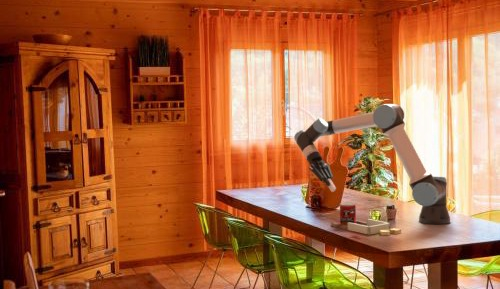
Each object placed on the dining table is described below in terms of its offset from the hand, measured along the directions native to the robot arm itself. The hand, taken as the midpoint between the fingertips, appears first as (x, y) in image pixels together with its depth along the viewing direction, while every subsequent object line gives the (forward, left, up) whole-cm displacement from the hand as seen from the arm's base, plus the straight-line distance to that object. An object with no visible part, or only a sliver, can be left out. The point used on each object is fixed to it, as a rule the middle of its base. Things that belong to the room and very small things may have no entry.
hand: (333, 190), depth 307 cm
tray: (+12, +21, -17) cm, 29 cm away
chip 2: (+14, +34, -17) cm, 40 cm away
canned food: (+5, +9, -17) cm, 20 cm away
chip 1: (+19, +30, -17) cm, 39 cm away
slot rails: (+5, +10, -17) cm, 20 cm away
